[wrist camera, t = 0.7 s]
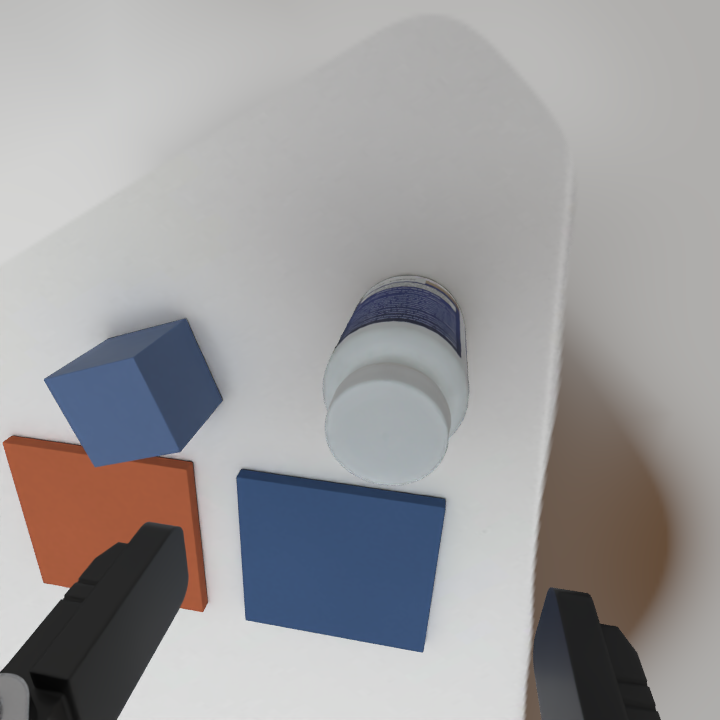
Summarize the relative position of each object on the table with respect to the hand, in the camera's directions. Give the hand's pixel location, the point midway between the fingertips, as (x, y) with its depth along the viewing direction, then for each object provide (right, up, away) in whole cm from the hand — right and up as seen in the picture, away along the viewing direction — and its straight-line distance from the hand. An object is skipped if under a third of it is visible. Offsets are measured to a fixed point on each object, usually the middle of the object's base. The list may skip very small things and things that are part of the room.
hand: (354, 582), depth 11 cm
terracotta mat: (-16, -6, +23) cm, 29 cm away
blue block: (-11, +4, +17) cm, 21 cm away
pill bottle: (+2, +7, +14) cm, 16 cm away
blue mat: (-1, -8, +21) cm, 22 cm away
